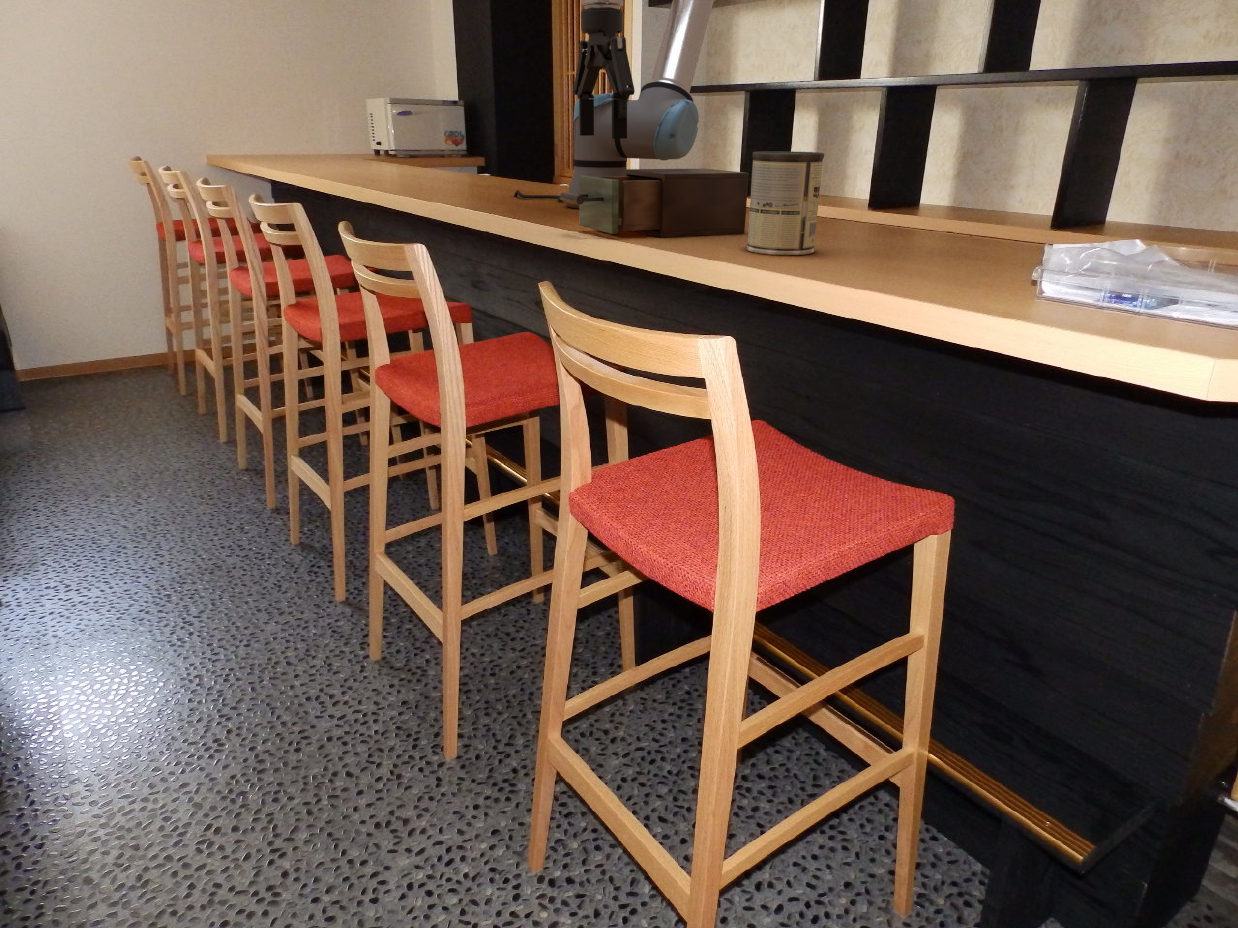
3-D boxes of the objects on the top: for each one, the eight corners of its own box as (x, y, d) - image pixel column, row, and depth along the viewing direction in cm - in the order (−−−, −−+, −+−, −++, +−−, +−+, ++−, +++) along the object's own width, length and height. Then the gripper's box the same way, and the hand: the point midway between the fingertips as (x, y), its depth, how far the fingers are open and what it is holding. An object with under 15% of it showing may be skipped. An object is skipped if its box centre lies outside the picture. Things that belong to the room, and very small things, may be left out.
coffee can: (744, 245, 133) (751, 150, 128) (810, 247, 132) (819, 152, 127) (747, 254, 124) (754, 152, 118) (818, 256, 123) (828, 154, 117)
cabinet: (662, 237, 140) (664, 174, 137) (624, 228, 152) (625, 169, 148) (744, 233, 147) (748, 173, 144) (702, 225, 159) (704, 168, 155)
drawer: (584, 235, 135) (584, 180, 131) (553, 226, 145) (552, 175, 142) (693, 230, 143) (695, 179, 140) (656, 222, 154) (657, 174, 151)
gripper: (554, 13, 157) (557, 134, 166) (615, 1, 137) (615, 140, 145) (590, 15, 160) (591, 134, 169) (655, 3, 140) (653, 139, 148)
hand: (602, 137), depth 157 cm, fingers open, 13 cm apart
